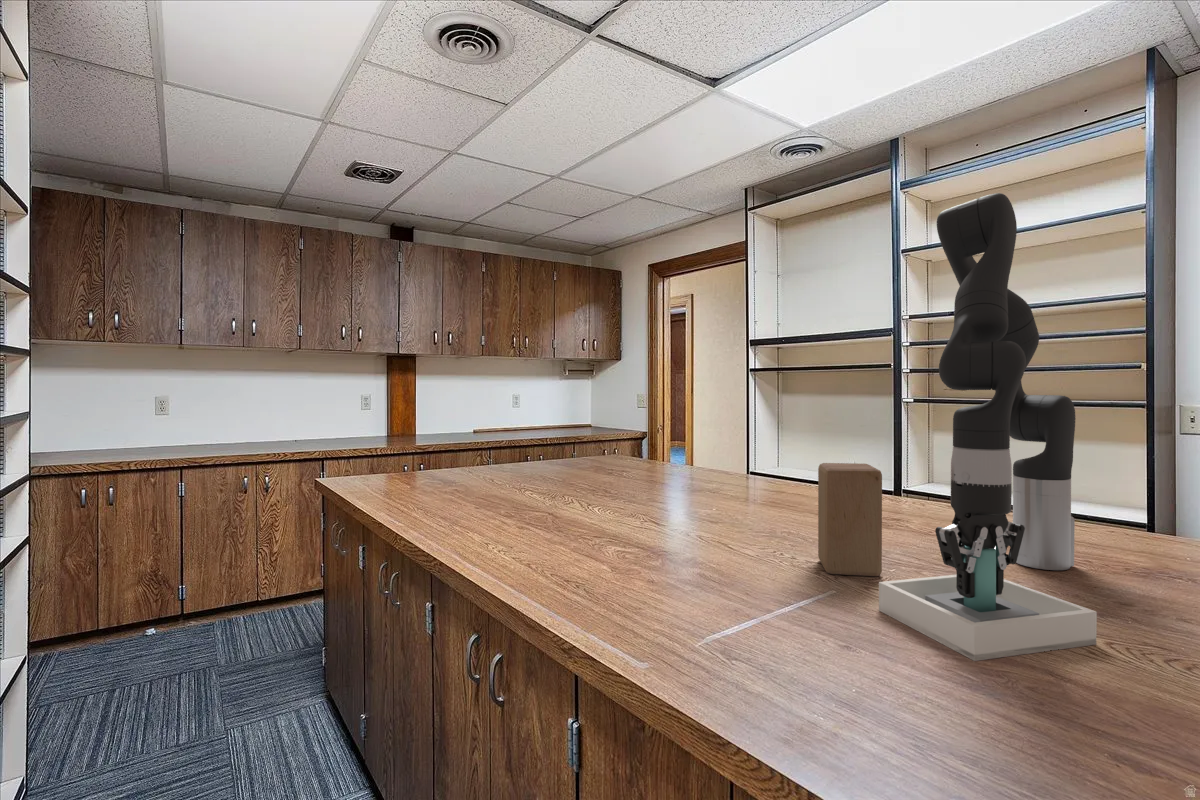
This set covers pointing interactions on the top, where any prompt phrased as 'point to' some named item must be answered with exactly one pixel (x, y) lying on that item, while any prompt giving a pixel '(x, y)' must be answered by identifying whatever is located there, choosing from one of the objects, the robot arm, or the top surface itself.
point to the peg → (984, 582)
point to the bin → (988, 618)
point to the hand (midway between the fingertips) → (979, 594)
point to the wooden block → (850, 519)
